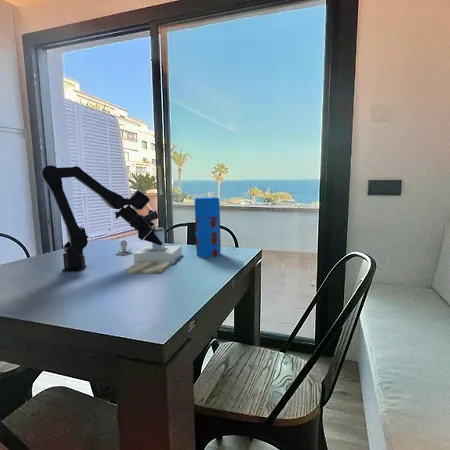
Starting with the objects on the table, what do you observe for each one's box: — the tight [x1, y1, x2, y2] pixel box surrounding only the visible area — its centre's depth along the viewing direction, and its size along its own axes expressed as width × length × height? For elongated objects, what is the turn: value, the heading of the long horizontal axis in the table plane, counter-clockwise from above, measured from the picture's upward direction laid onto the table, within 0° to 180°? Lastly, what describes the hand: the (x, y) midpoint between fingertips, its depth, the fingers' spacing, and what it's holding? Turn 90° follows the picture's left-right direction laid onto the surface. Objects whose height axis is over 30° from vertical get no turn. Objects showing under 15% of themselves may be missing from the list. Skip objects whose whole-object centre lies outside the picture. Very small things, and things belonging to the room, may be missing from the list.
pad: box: [125, 262, 172, 274], centre depth 123 cm, size 13×13×1 cm
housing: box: [133, 245, 183, 264], centre depth 138 cm, size 16×16×4 cm
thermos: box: [194, 196, 222, 258], centre depth 143 cm, size 11×11×25 cm
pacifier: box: [115, 239, 133, 256], centre depth 150 cm, size 7×6×6 cm
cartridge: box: [151, 227, 166, 251], centre depth 138 cm, size 5×5×13 cm
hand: (161, 243), depth 138 cm, fingers closed on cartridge, 5 cm apart
